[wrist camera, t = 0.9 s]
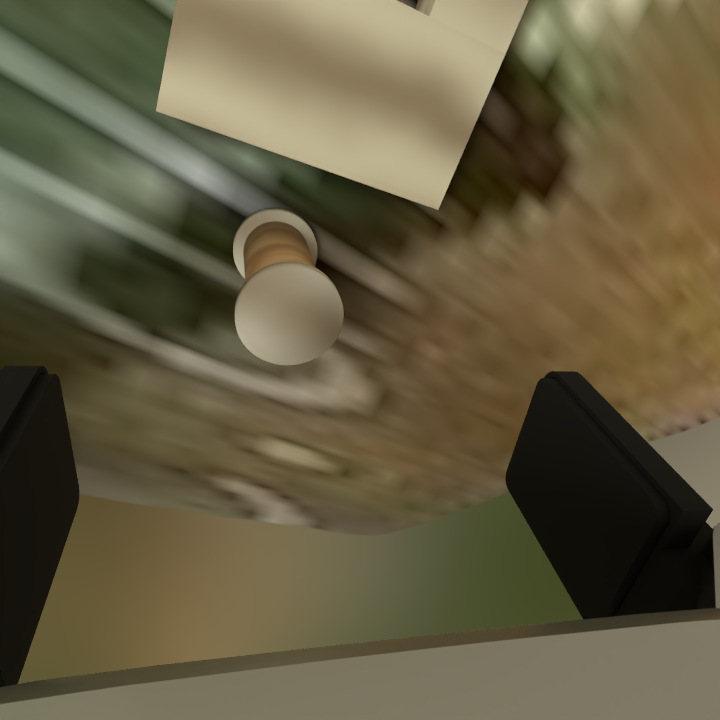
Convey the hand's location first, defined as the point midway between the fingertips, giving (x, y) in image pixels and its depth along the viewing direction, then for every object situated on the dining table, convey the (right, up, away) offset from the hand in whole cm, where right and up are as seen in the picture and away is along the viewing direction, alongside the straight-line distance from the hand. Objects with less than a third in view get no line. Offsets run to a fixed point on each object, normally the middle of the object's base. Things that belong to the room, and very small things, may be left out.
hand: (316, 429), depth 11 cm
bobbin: (-4, +8, +23) cm, 25 cm away
